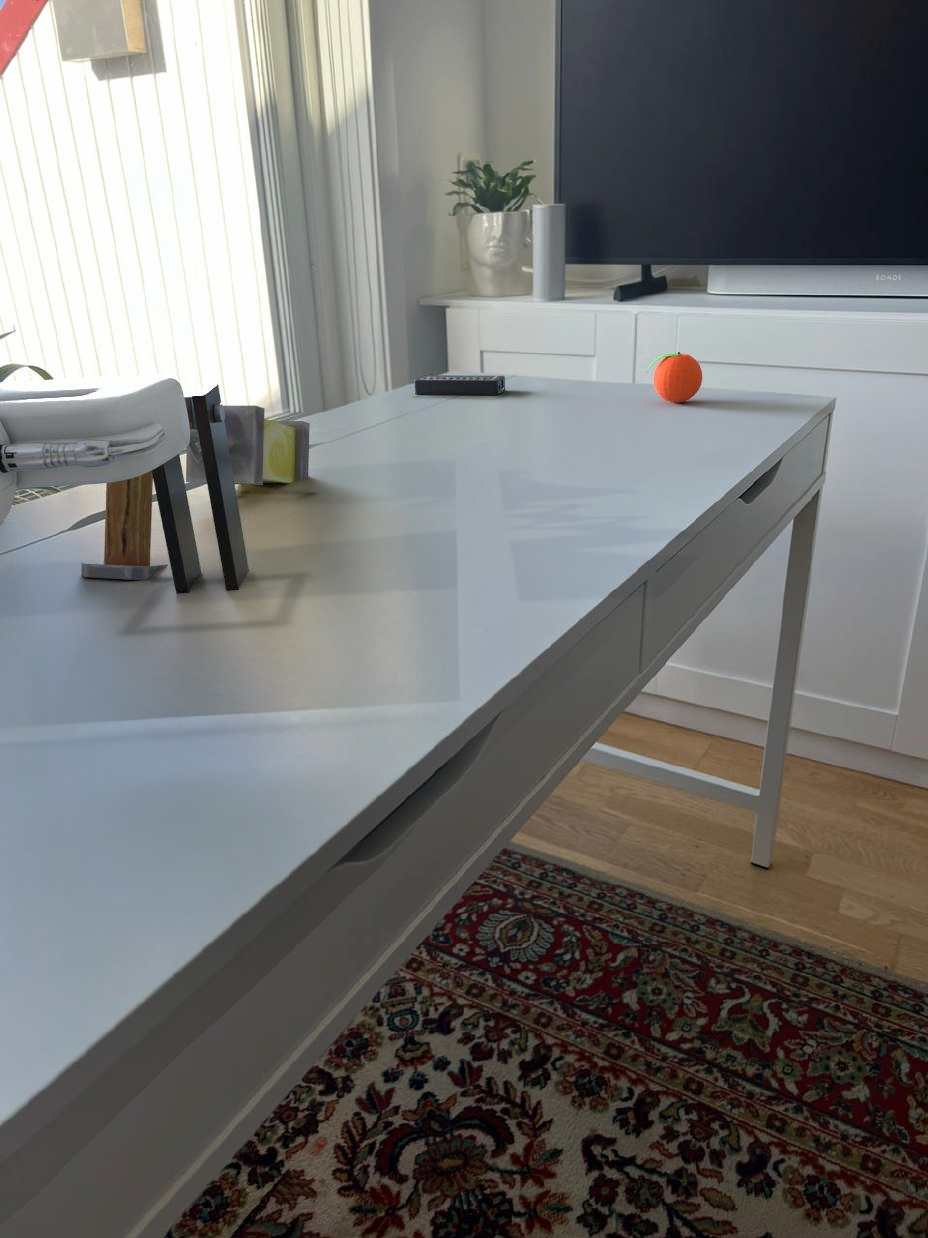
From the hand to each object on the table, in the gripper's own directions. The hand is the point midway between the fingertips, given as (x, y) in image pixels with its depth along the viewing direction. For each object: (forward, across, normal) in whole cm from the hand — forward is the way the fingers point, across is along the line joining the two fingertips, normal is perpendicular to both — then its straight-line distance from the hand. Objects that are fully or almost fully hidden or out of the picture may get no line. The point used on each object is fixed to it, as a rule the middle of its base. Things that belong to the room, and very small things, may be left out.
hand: (30, 399), depth 51 cm
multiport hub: (+102, -24, +21) cm, 107 cm away
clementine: (+84, -54, +20) cm, 102 cm away
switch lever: (+14, -2, +5) cm, 15 cm away
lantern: (+37, +2, +21) cm, 43 cm away
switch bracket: (+19, -2, +20) cm, 28 cm away
